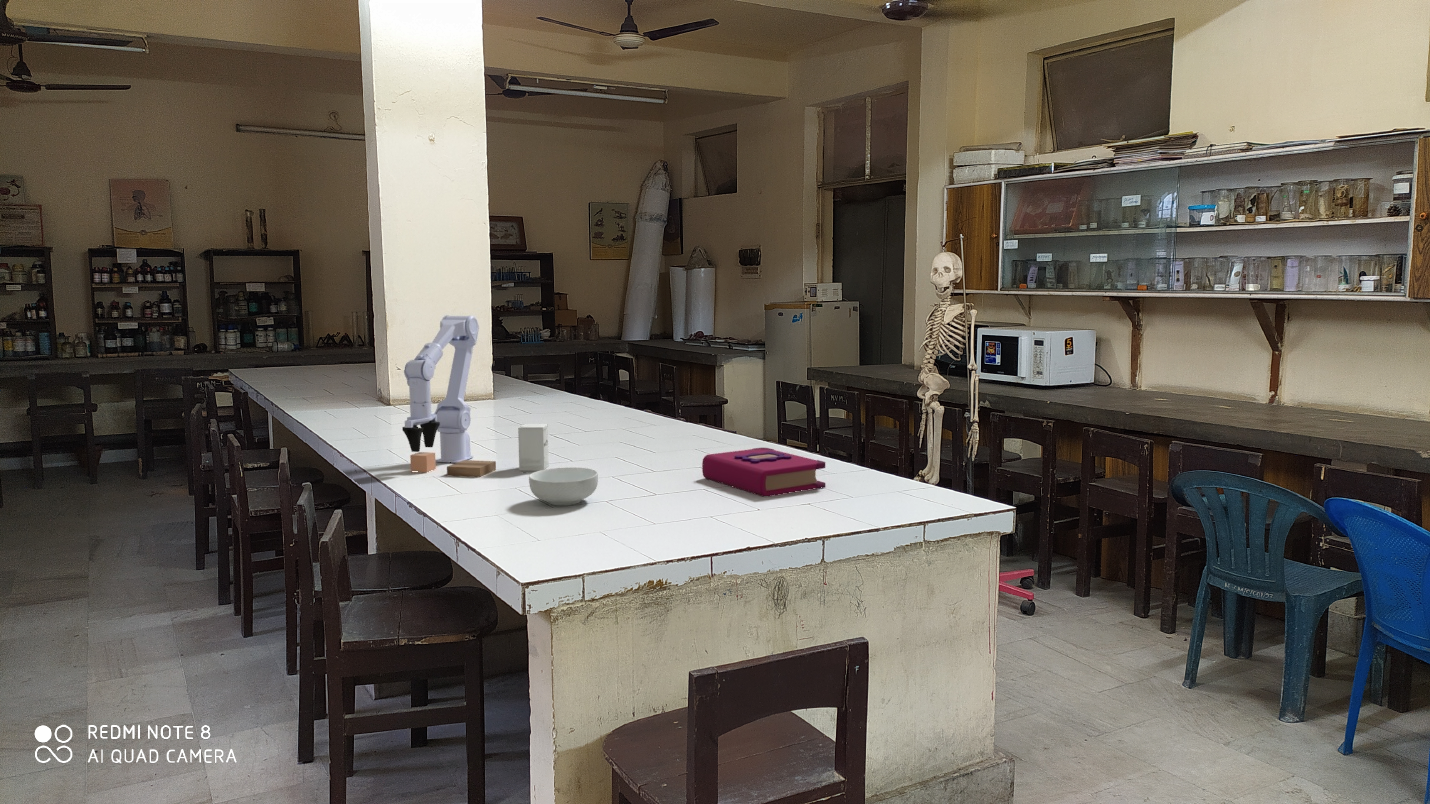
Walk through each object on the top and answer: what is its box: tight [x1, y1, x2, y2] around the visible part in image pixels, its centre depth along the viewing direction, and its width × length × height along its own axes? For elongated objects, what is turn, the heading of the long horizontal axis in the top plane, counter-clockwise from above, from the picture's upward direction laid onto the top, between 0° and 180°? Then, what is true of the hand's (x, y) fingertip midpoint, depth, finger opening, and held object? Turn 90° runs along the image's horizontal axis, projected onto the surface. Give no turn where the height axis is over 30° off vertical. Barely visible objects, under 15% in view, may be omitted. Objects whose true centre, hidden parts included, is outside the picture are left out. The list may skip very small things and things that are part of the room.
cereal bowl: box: [528, 466, 599, 506], centre depth 239 cm, size 17×17×7 cm
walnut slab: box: [446, 459, 497, 478], centre depth 276 cm, size 10×10×3 cm
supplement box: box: [517, 423, 549, 472], centre depth 281 cm, size 7×7×13 cm
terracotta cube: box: [409, 451, 437, 473], centre depth 279 cm, size 5×5×5 cm
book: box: [701, 447, 826, 497], centre depth 260 cm, size 21×28×8 cm
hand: (422, 449), depth 279 cm, fingers open, 7 cm apart
